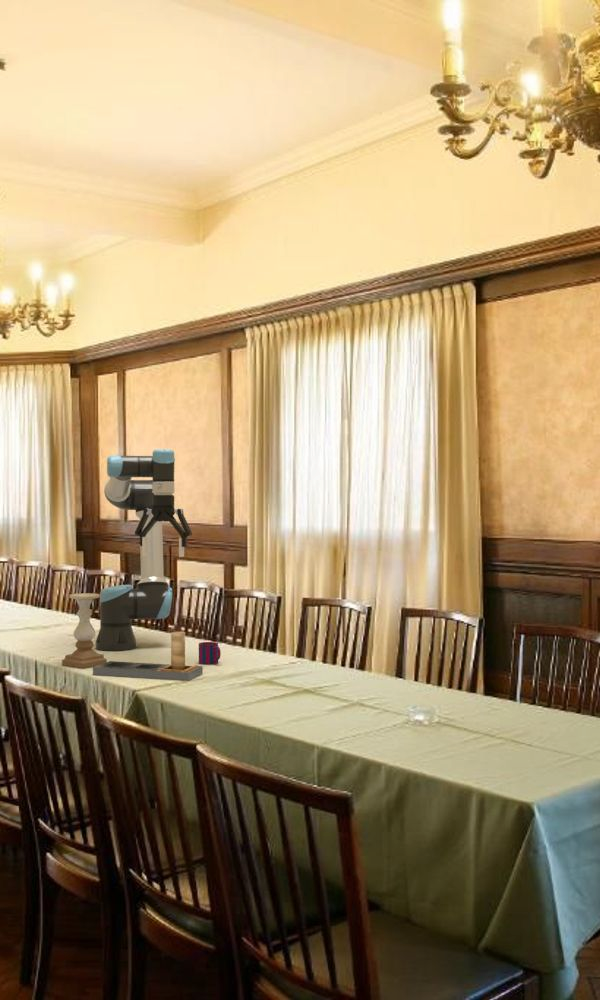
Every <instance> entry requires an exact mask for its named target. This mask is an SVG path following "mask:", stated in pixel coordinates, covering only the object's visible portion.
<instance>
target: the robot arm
mask: <svg viewBox="0 0 600 1000" xmlns="http://www.w3.org/2000/svg"><path fill="white" fill-rule="evenodd" d="M175 462H176V457H175V451H174V450H172V449H163V448H162V449H154V450H153V451H152V455H119V454H116V455H109V456H108V457H107V460H106V474H107V477H109V479H108V480H107V482H106V483H105V485H104V496H105V499H106V500H107V501H108V503H109V504H111V505H112V506H114V507H116V508H118V509H121V510H126V511H135V516H136V518H138V519H139V522H138V524H137V526H136V529H135V531H134V535H135V536H139V547H140V549H139V550H140V580H139V581H138V583H137V584H136V588H133V586H132V584H121V585H120V584H119V585H113V586H108V587H105V588H103V589H102V590H101V591H100V597H99V598H100V599H99V603H100V619H99V620H100V621H99V622H100V623H99V624H100V627H99V631H98V634H97V636H96V639H95V649H96V650H100V651H114V652H117V651H119V652H120V651H129V650H133V649H136V648H137V638H136V636H135V634H134V633H135V632H134V631H133V630H134V629H133V625H132V624H133V620H154V619H155V620H159V619H160V620H161V619H166V618H168V617H169V615H170V613H171V607H172V602H173V588H172V587H170V586H169V583H168V581H167V580H165V576H164V545H163V544H164V543H163V540H164V538H163V522H165V523H167V522H168V523H169V524H171V526H172V527H173V528H174V529H175V530H176V532H177V533H178V534H179V535H180V537H179V538H178V557H179V558H182V557H183V558H184V557H185V548H186V547H187V545H188V544H187V542H188V541H187V540H188V537H190V536H192V535H193V533H192V531H191V528H190V526H189V524H188V521H187V520H186V518H185V513H184V508H177V509H175V496H174V494H175ZM132 478H152V479H132ZM175 515H176V516H177V518H178V520H179V522H180V524H181V525H180V524H179V523H178V521H177V520H176V518H175V517H174V516H175Z"/></svg>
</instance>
